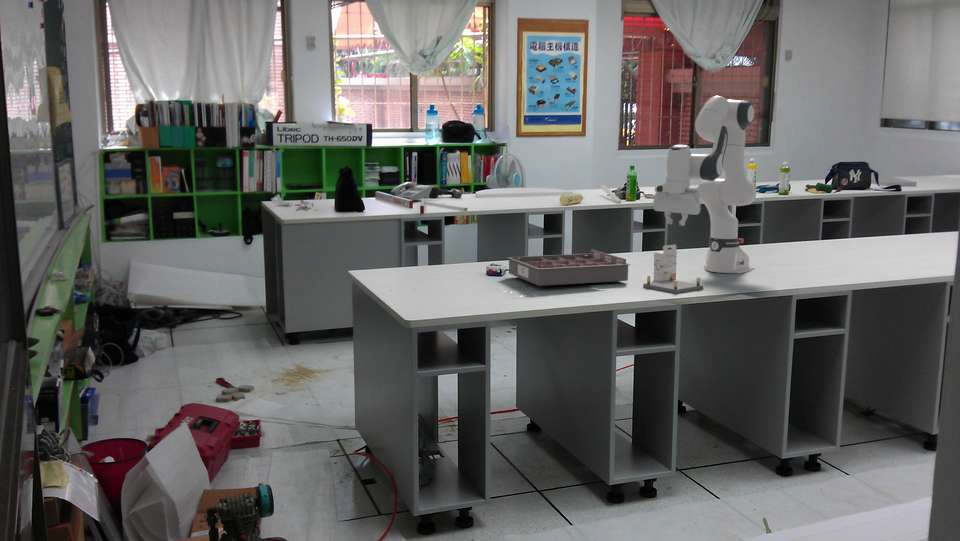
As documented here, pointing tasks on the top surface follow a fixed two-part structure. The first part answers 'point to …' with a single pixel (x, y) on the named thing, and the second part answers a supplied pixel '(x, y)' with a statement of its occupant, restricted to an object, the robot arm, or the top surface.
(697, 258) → the top surface
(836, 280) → the top surface
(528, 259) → the organizer tray
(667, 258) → the ink cartridge box
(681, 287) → the chassis plate
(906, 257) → the top surface
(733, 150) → the robot arm
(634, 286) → the top surface
